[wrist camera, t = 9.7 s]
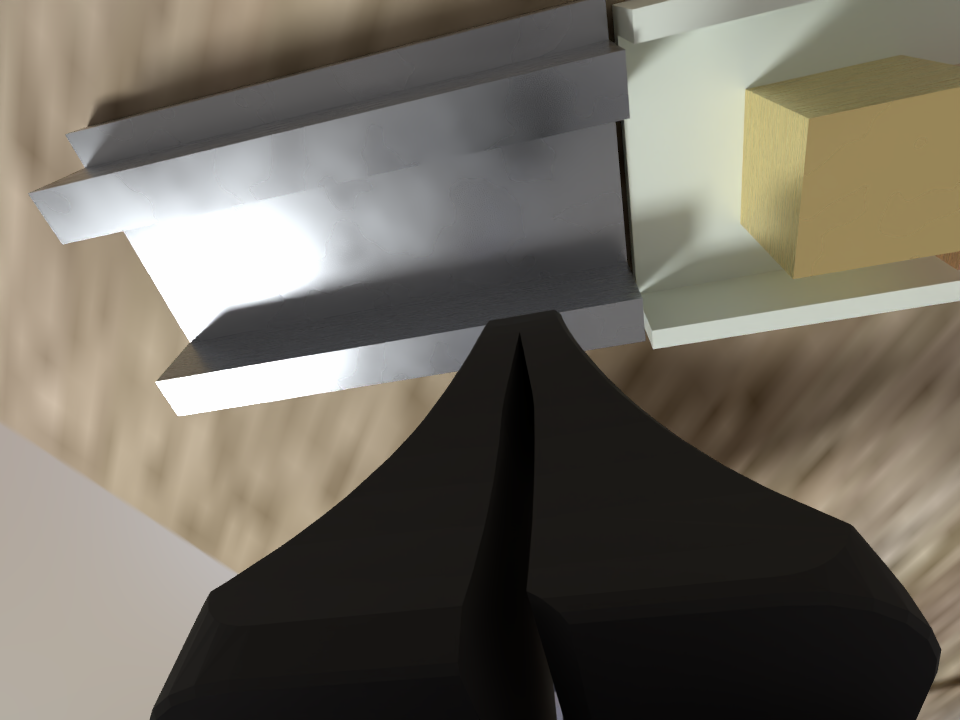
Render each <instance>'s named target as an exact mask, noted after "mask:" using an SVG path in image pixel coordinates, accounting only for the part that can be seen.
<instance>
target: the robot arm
mask: <svg viewBox="0 0 960 720" xmlns="http://www.w3.org/2000/svg"><path fill="white" fill-rule="evenodd" d="M940 654H941V648H940V646H939V643H938V641H937V639H936V637H935V635H934V632H933V630H932V628H931V627H930V625H929V624H928V622H927V620H926V619H925V617H924V616H923V614H922V613H921V611H920V610H919V608H918V607H917V605H916V604H915V602H914V601H913V599H912V598H911V596H910V595H909V593H908V592H907V590H906V589H905V588H904V586H903V585H902V584H901V583H900V581H899V580H898V579H897V578H896V577H895V575H894V574H893V573H892V572H891V571H890V569H889V568H888V567H887V566H886V564H885V563H884V562H883V561H882V560H881V558H880V557H879V556H878V555H877V554H876V553H875V551H874V550H873V549H872V548H871V547H870V545H869V544H868V543H867V542H866V541H865V539H864V538H863V537H862V536H861V535H860V534H859V532H858V531H857V530H856V529H855V528H854V527H853V526H852V525H851V524H848V523H846V522H844V521H841V520H839V519H837V518H835V517H832V516H830V515H828V514H825V513H823V512H821V511H818V510H816V509H814V508H812V507H809V506H807V505H805V504H802V503H800V502H798V501H796V500H793V499H791V498H789V497H786V496H784V495H782V494H779V493H777V492H775V491H773V490H771V489H768V488H766V487H764V486H762V485H760V484H758V483H757V482H755V481H753V480H751V479H749V478H747V477H745V476H743V475H741V474H739V473H737V472H735V471H734V470H732V469H730V468H728V467H726V466H724V465H722V464H721V463H719V462H718V461H716V460H714V459H713V458H711V457H709V456H708V455H706V454H705V453H703V452H701V451H700V450H698V449H696V448H695V447H693V446H692V445H690V444H688V443H687V442H685V441H684V440H682V439H681V438H679V437H678V436H676V435H675V434H674V433H672V432H671V431H670V430H668V429H667V428H665V427H664V426H663V425H661V424H660V423H658V422H657V421H656V420H655V419H653V418H652V417H651V416H650V415H648V414H647V413H646V412H645V411H643V410H642V409H641V408H640V407H639V406H637V405H636V404H635V403H634V402H633V401H632V400H630V399H629V398H628V397H627V396H626V395H625V394H624V393H623V392H622V391H621V390H620V389H619V388H618V387H617V386H616V385H615V384H614V383H613V382H612V381H611V380H610V379H608V377H607V376H606V375H605V374H604V373H603V372H602V371H601V370H600V369H599V368H598V367H597V366H596V364H595V363H594V362H593V361H592V360H591V359H590V357H589V356H588V355H587V354H586V353H585V351H584V350H583V349H582V348H581V346H580V345H579V344H578V342H577V341H576V340H575V338H574V337H573V335H572V334H571V332H570V331H569V329H568V328H567V326H566V324H565V322H564V320H563V318H562V315H561V314H560V313H559V312H557V311H556V310H549V311H543V312H537V313H531V314H525V315H520V316H514V317H508V318H502V319H496V320H491V321H489V322H488V323H487V324H486V326H485V327H484V329H483V330H482V332H481V334H480V336H479V337H478V339H477V341H476V343H475V345H474V346H473V348H472V350H471V351H470V353H469V355H468V356H467V358H466V360H465V361H464V363H463V365H462V366H461V368H460V369H459V371H458V372H457V374H456V375H455V377H454V378H453V380H452V382H451V383H450V385H449V386H448V388H447V389H446V390H445V392H444V393H443V395H442V396H441V397H440V399H439V400H438V401H437V403H436V404H435V405H434V407H433V408H432V409H431V411H430V412H429V413H428V415H427V416H426V417H425V419H424V420H423V421H422V422H421V424H420V425H419V426H418V427H417V428H416V430H415V431H414V432H413V433H412V434H411V435H410V436H409V437H408V438H407V440H406V441H405V442H404V443H403V444H402V445H401V446H400V447H399V448H398V449H397V450H396V451H395V452H394V453H393V454H392V455H391V456H390V457H389V458H388V459H387V460H386V461H385V462H384V463H383V464H382V465H381V466H380V467H379V468H378V469H376V470H375V471H374V472H373V473H372V474H371V475H370V476H369V477H368V478H367V479H366V480H364V481H363V482H362V483H361V484H360V485H359V486H358V487H357V488H356V489H355V490H353V491H352V492H351V493H350V494H349V495H348V496H347V497H345V498H344V499H343V500H342V501H341V502H339V503H338V504H337V505H336V506H334V507H333V508H332V509H331V510H329V511H328V512H327V513H326V514H324V515H323V516H322V517H320V518H319V519H318V520H316V521H315V522H314V523H312V524H311V525H310V526H308V527H307V528H306V529H304V530H303V531H302V532H300V533H299V534H298V535H296V536H295V537H294V538H292V539H291V540H289V541H288V542H287V543H285V544H284V545H282V546H281V547H279V548H278V549H276V550H275V551H273V552H272V553H270V554H269V555H267V556H266V557H264V558H263V559H261V560H260V561H258V562H256V563H255V564H253V565H252V566H250V567H249V568H247V569H246V570H244V571H243V572H241V573H240V574H238V575H237V576H235V577H234V578H232V579H231V580H229V581H228V582H226V583H224V584H223V585H221V586H219V587H218V588H216V589H214V590H213V591H211V592H210V594H209V596H208V597H207V599H206V601H205V603H204V605H203V607H202V609H201V611H200V613H199V615H198V617H197V619H196V621H195V623H194V625H193V627H192V629H191V631H190V633H189V635H188V637H187V639H186V641H185V644H184V646H183V648H182V650H181V652H180V654H179V656H178V658H177V660H176V662H175V664H174V666H173V668H172V671H171V672H170V674H169V677H168V679H167V681H166V683H165V685H164V687H163V689H162V691H161V693H160V695H159V697H158V699H157V701H156V703H155V705H154V708H153V710H152V713H151V717H150V720H916V719H917V717H918V714H919V712H920V710H921V708H922V705H923V703H924V701H925V699H926V696H927V694H928V692H929V690H930V687H931V685H932V683H933V681H934V678H935V676H936V674H937V671H938V666H939V660H940Z"/></svg>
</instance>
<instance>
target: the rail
mask: <svg viewBox="0 0 960 720" xmlns="http://www.w3.org/2000/svg"><path fill="white" fill-rule="evenodd" d="M625 119H630V111H629V97H628V82H627V68H626V54H625V49H624V48H622V47H620V46H618V45H617V44H615V43H613V42H612V41H610V40H609V37H608V25H607V13H606V1H605V0H577V1H573V2H570V3H566V4H562V5H558V6H554V7H550V8H546V9H542V10H539V11H535V12H531V13H527V14H523V15H519V16H515V17H511V18H507V19H504V20H500V21H496V22H492V23H488V24H484V25H480V26H476V27H473V28H469V29H465V30H461V31H457V32H453V33H449V34H445V35H442V36H438V37H434V38H430V39H426V40H422V41H418V42H414V43H411V44H407V45H403V46H399V47H395V48H391V49H387V50H383V51H380V52H376V53H372V54H368V55H364V56H360V57H356V58H352V59H349V60H345V61H341V62H337V63H333V64H329V65H325V66H321V67H318V68H314V69H310V70H306V71H302V72H298V73H294V74H290V75H287V76H283V77H279V78H275V79H271V80H267V81H263V82H259V83H256V84H252V85H248V86H244V87H240V88H236V89H232V90H228V91H225V92H221V93H217V94H213V95H209V96H205V97H201V98H197V99H194V100H190V101H186V102H182V103H178V104H174V105H170V106H166V107H162V108H159V109H155V110H151V111H147V112H143V113H139V114H135V115H131V116H128V117H124V118H120V119H116V120H112V121H108V122H104V123H100V124H97V125H93V126H89V127H85V128H82V129H80V130H77V131H74V132H71V133H68V134H65V135H66V137H67V138H68V140H69V142H70V143H71V145H72V147H73V148H74V150H75V152H76V153H77V155H78V157H79V158H80V160H81V162H82V163H83V165H84V167H85V168H84V169H82V170H79V171H77V172H75V173H73V174H71V175H68V176H66V177H64V178H62V179H59V180H57V181H55V182H53V183H51V184H48V185H46V186H44V187H42V188H39V189H37V190H35V191H33V192H30V193H28V194H29V196H30V197H31V199H32V200H33V202H34V203H35V205H36V206H37V207H38V209H39V210H40V212H41V213H42V215H43V216H44V218H45V219H46V221H47V222H48V224H49V225H50V227H51V228H52V230H53V231H54V233H55V234H56V236H57V237H58V239H59V240H60V242H61V243H62V244H67V243H71V242H76V241H80V240H85V239H89V238H94V237H98V236H103V235H107V234H112V233H116V232H121V231H124V233H125V235H126V236H127V238H128V240H129V241H130V243H131V245H132V246H133V248H134V250H135V251H136V253H137V255H138V256H139V258H140V259H141V261H142V263H143V264H144V266H145V268H146V269H147V271H148V273H149V274H150V276H151V278H152V279H153V281H154V283H155V284H156V286H157V288H158V289H159V291H160V293H161V294H162V296H163V298H164V299H165V301H166V303H167V304H168V306H169V308H170V309H171V311H172V313H173V314H174V316H175V318H176V319H177V321H178V323H179V324H180V326H181V327H182V329H183V331H184V332H185V334H186V336H187V337H188V339H189V341H190V343H189V344H188V345H187V347H186V348H185V349H184V350H183V351H182V352H181V354H180V355H179V356H178V357H177V358H176V359H175V360H174V362H173V363H172V364H171V365H170V366H169V367H168V368H167V370H166V371H165V372H164V373H163V374H162V375H161V376H160V378H159V379H158V380H157V381H156V384H157V385H158V387H159V388H160V390H161V391H162V393H163V394H164V396H165V397H166V398H167V400H168V401H169V403H170V404H171V406H172V407H173V409H174V410H175V412H176V413H177V415H178V416H182V415H188V414H194V413H201V412H207V411H213V410H219V409H225V408H232V407H238V406H244V405H250V404H257V403H263V402H269V401H275V400H281V399H288V398H294V397H300V396H306V395H313V394H319V393H325V392H331V391H337V390H344V389H350V388H356V387H362V386H369V385H375V384H381V383H387V382H393V381H400V380H406V379H412V378H418V377H425V376H431V375H437V374H443V373H449V372H456V371H459V369H460V368H461V366H462V365H463V363H464V361H465V360H466V358H467V356H468V355H469V353H470V351H471V350H472V348H473V346H474V345H475V343H476V341H477V339H478V337H479V336H480V334H481V332H482V330H483V329H484V327H485V326H486V324H487V323H488V322H489V321H491V320H496V319H502V318H508V317H514V316H520V315H525V314H531V313H537V312H543V311H549V310H556V311H557V312H559V313H560V314H561V315H562V318H563V320H564V322H565V324H566V326H567V328H568V329H569V331H570V332H571V334H572V335H573V337H574V338H575V340H576V341H577V342H578V344H579V345H580V346H581V348H582V349H583V350H584V351H586V350H592V349H599V348H605V347H611V346H617V345H624V344H630V343H636V342H642V341H645V327H644V312H643V298H642V296H641V293H640V291H639V289H638V286H637V284H636V282H635V279H634V277H633V275H632V272H631V270H630V268H629V265H628V263H627V254H626V242H625V230H624V218H623V206H622V194H621V182H620V170H619V158H618V146H617V134H616V121H621V120H625Z"/></svg>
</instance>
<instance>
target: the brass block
mask: <svg viewBox="0 0 960 720" xmlns="http://www.w3.org/2000/svg"><path fill="white" fill-rule="evenodd" d="M740 224H741V225H742V226H743V227H744V228H745V229H746V230H747V231H748V232H749V234H750V235H751V236H752V237H753V238H754V239H755V240H756V241H757V242H758V243H759V244H760V245H761V246H762V247H763V248H764V249H765V250H766V251H767V252H768V253H769V255H770V256H771V257H772V258H773V259H774V260H775V261H776V262H777V263H778V264H779V265H780V266H781V267H782V268H783V269H784V270H785V271H786V272H787V273H788V274H789V275H790V277H791V278H792V279H798V278H804V277H810V276H816V275H822V274H828V273H833V272H839V271H845V270H851V269H857V268H863V267H869V266H875V265H881V264H887V263H893V262H899V261H904V260H910V259H916V258H922V257H928V256H934V255H940V254H946V253H952V252H958V251H960V66H956V65H951V64H946V63H941V62H936V61H931V60H925V59H920V58H915V57H910V56H905V55H898V56H893V57H889V58H884V59H880V60H875V61H871V62H866V63H862V64H857V65H853V66H848V67H843V68H839V69H834V70H830V71H825V72H821V73H816V74H812V75H807V76H803V77H798V78H794V79H789V80H785V81H780V82H776V83H771V84H767V85H762V86H758V87H753V88H749V89H745V111H744V137H743V163H742V190H741V216H740Z"/></svg>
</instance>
